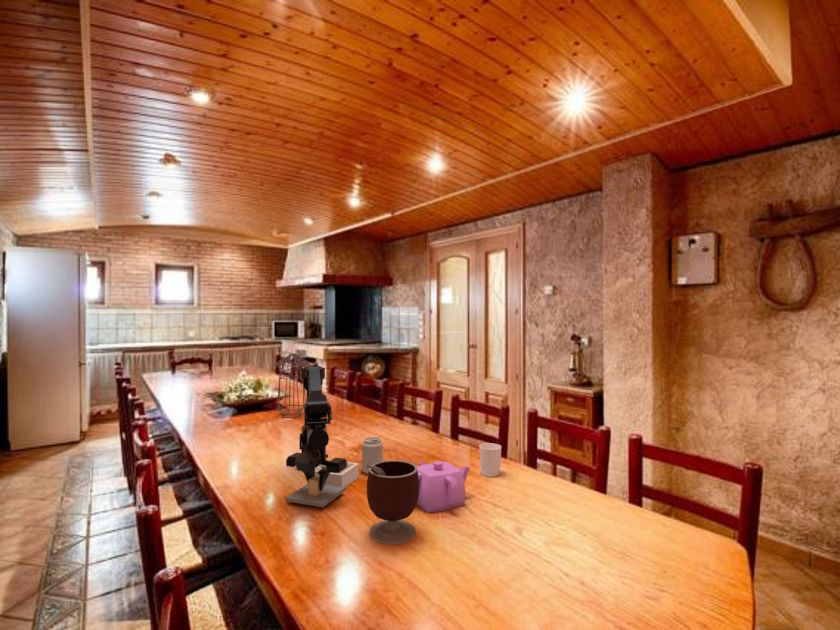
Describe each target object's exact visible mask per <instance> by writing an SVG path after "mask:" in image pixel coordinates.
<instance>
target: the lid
mask: <svg viewBox="0 0 840 630" xmlns="http://www.w3.org/2000/svg"><path fill="white" fill-rule="evenodd" d="M345 491H346V488H345V487H338V486H332V485H324V487H323V490H322V491H320V490H319V476H318V475H315V476H314V477H312V478H311V479H309V485H308V483H307V484H305V485H304V486H302V487H300V488H299V489H297V490H296V491H294V492H293V493H292V492H291V494H289V495H288V496H286V497H285V502H289V503H296V504H302V505H307V506H312V507H313V506H314V507H319V508H325V507H326V506H327V505H329V504H330V503H331V502H332V501H334V500H335V499H336V498H337V497H339V496H340V495H342V493H344V492H345Z"/></svg>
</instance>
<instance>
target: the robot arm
mask: <svg viewBox="0 0 840 630" xmlns="http://www.w3.org/2000/svg"><path fill="white" fill-rule="evenodd" d="M300 370H301V372H300V380H301V381H302V388H303V387H304V388H305V392H306V393H305V396H306V404H305V403H304V409H303V418H304V420H303V421H304V423H303V425H302V426H301V432H300V433H299V442H298V444H299V450H301V452H294V453H293V454H290V455H289V456H287V458H286V460H285V466H286V467H290V468H294V467H296V470H297V471H298V472H302V473H303V474H304V477H305V479H306V481H307V484H308V485H309V479H311V478H312V477H314V476H315V467H316V468H317V467H318V466H321V470H320V471H318V474H319V490H320V491H322V490H323V487H324V485H325V483H326V480H327V478H328V476H329V474H330V472H331V473H340V472H341V471H343V470H344V469H345V468H347V462H348V461H347V460H346V458H342V457H334V458H332V459H328V458H329V454H327V446H328V445H329V440H330V437H329V436H330V435H329V434H328V431H327V425H328V424H329V425H330V424H331V421H332V420H333V414H332V405H331V403H330V402H328V399H327V395H325V394H324V393H323V387H322V386H323V382H324V381H323V380H325V379H326V368H325V367H322V366H320V365H307V366H306V367H305V366H303V368H302V367H301V369H300ZM330 460H331V461H330Z"/></svg>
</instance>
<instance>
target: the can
mask: <svg viewBox="0 0 840 630" xmlns="http://www.w3.org/2000/svg"><path fill="white" fill-rule="evenodd" d="M381 440H382V439H381V438H380V437H376V436H373V437H372V436H370V437H366V438H364V439H363V442H362V443H361V471H362V472H363V473H364V474H366V475H368V473H369V468H367V465H373V464H375V463H378V462H382V461H384V460H383V459H384V458H383V454H384V453H383V452H384V451H383V450H384V449H383V448H384V447H383V442H382V441H381Z"/></svg>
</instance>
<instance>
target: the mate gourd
mask: <svg viewBox="0 0 840 630" xmlns="http://www.w3.org/2000/svg"><path fill="white" fill-rule="evenodd" d="M417 466H418V465H416V464H414V463H413V462H409V461H406V460H398V459H397V460H396V459H394V460H393V459H391V460H383V461H382V462H378V463H375V464H373V465H367V468H369V473H368V474H367V479H366V497H367V503H368V508H369V509H370V510H371V512H372V513H373V514H374V516H375V517H377V519H380V520H381V521H379V522H376V523H374V524H373V525H371V527H370V529H369V537H370V538H371V539H372V540H373V541H374V542H376V543H379V544H382V545H390V546H391V545H392V546H393V545H401V544H405V543H408V542H410V541H412V540H413V539H414V538H415V536H416V533H417V531H416V530H417V529H416V527H415V525H414V524H412V523H411V522H409V521H407V520H406V519H407V518H408V517H410V516H411V515H412V513H413V511H415V509H416V508H417V506H418V505H417V502H418V497H419V477H418V472H417Z"/></svg>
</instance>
